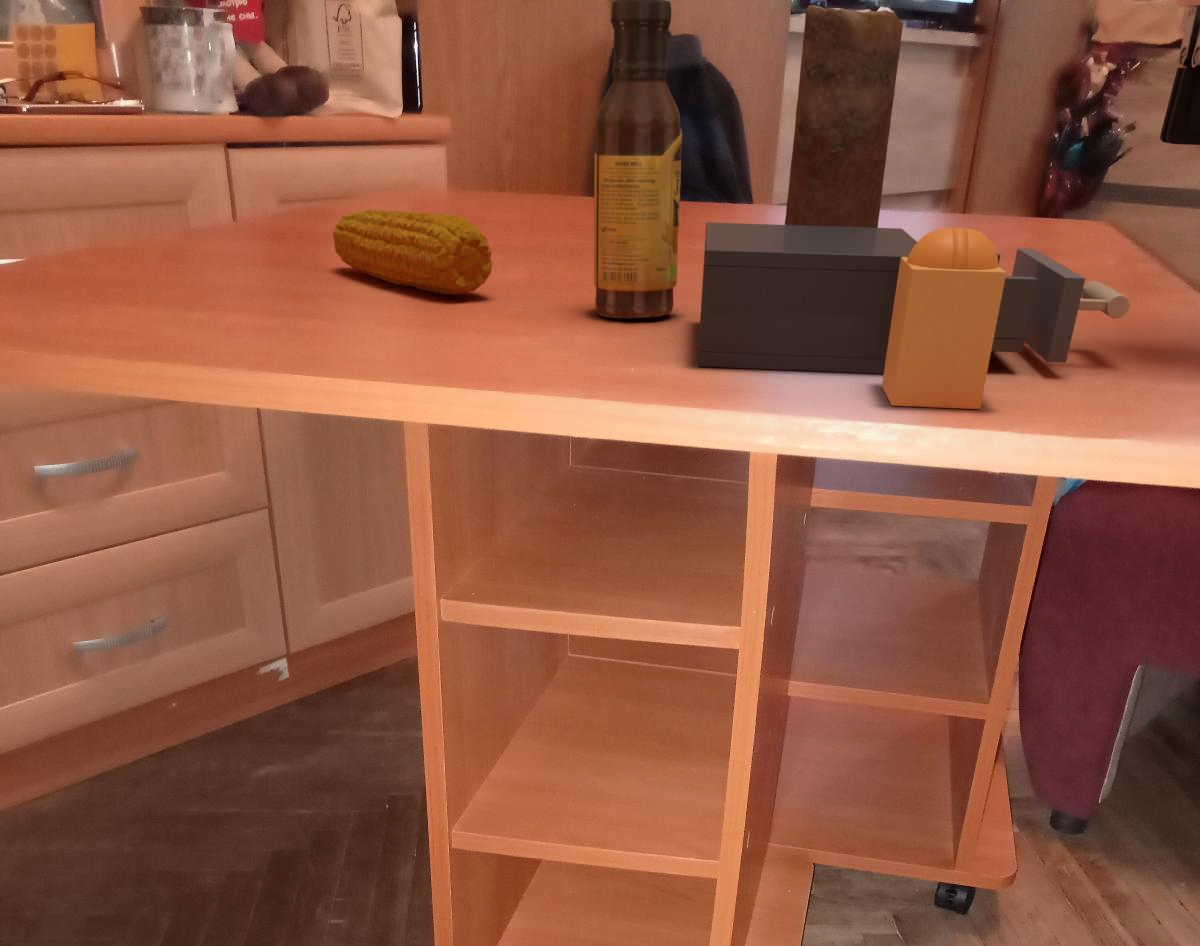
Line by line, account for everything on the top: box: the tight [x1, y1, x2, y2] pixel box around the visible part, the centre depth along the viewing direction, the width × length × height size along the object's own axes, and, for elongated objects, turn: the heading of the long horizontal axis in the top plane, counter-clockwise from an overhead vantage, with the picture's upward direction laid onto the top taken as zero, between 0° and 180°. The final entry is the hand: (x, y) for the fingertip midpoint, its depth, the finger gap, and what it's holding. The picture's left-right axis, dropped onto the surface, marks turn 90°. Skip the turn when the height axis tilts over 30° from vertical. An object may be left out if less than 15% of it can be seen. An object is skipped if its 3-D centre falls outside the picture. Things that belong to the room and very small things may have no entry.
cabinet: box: [697, 222, 918, 375], centre depth 77 cm, size 14×14×7 cm
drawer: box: [991, 247, 1131, 364], centre depth 76 cm, size 17×13×5 cm
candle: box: [784, 4, 904, 228], centre depth 88 cm, size 8×7×20 cm
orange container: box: [881, 227, 1007, 410], centre depth 65 cm, size 5×5×9 cm
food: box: [332, 208, 493, 296], centre depth 96 cm, size 21×6×6 cm, turn 41°
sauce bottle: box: [593, 0, 683, 320], centre depth 83 cm, size 6×6×20 cm
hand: (1188, 143), depth 72 cm, fingers closed
